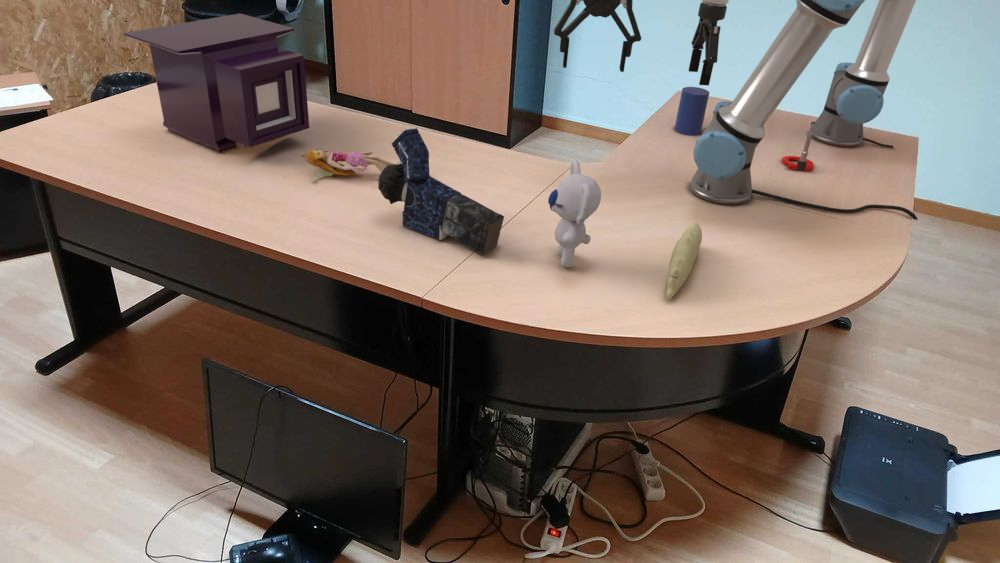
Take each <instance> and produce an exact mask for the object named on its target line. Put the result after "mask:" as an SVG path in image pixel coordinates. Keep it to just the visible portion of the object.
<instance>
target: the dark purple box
mask: <svg viewBox="0 0 1000 563" xmlns="http://www.w3.org/2000/svg"><path fill="white" fill-rule="evenodd" d="M294 31H295V28H294V27H292V26H287V25H283V24H279V23H276V22H272V21H269V20H264V19H262V18H259V17H256V16H255V17H254V16H252V15H247V14H244V13H235V14H230V15H224V16H217V17H212V18H205V19H200V20H194V21H188V22H181V23H175V24H169V25H163V26H157V27H151V28H146V29H145V28H144V29H139V30H134V31H128V32H123V36H125V37H127V38H130V39H133V40H136V41H138V42H142V43H145V44H148V45H149V50H150V54H151V60H152V66H153V71H154V75H155V76H154V77H155V82H156V87H157V92H158V97H159V102H160V107H161V113H162V118H163V122H162V126H163V127H165V128H166V129H167V131H168V132H170V133H172V134H175V135H177V136H179V137H182V138H184V139H187V140H189V141H191V142H193V143H196V144H197V145H200V146H203V147H205V148H207V149H209V150H212V151H215V152H217V153H219V154H220V153H224V152H227V151H229V150H233V149H235V148H237V144H240V145H242V146H245V147H247V148H249V149H250V148H253V147H256V146H259V145H262V144H266V143H269V142H271V141H275V140H278V139H281V138H285V137H287V136H289V135H293V134H296V133H300V132H302V131H305V130H308V129H310V118H309V105H308V94H307V93H308V92H307V80H306V79H307V78H306V68H305V56H304V54H303V53H302V54H301V53H297V52H296V51H295V52H294V51H291V50H288V49H285V48H282V47H279V44H278V40H277V38H280V37H282V36H286V35H287V34H291V33H292V32H294Z"/></svg>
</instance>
